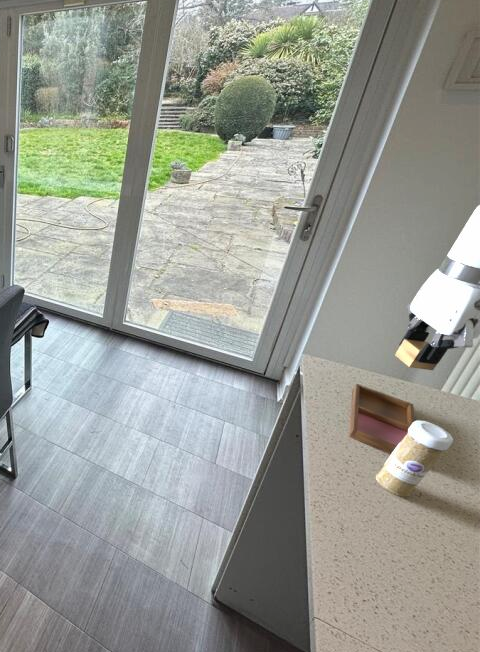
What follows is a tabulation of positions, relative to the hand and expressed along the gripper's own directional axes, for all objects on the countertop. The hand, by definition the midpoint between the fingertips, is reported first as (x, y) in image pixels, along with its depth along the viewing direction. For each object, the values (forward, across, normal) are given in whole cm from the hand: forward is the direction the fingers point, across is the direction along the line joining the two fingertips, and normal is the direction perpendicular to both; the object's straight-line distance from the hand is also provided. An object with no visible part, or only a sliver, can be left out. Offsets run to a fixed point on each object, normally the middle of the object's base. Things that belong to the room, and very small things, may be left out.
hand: (417, 354), depth 80 cm
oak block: (+2, 0, 0) cm, 2 cm away
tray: (+15, -5, +3) cm, 16 cm away
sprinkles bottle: (+15, -21, +10) cm, 28 cm away
